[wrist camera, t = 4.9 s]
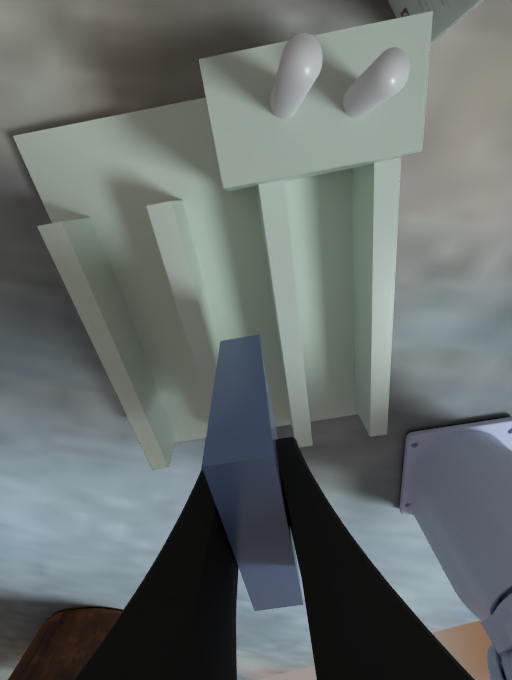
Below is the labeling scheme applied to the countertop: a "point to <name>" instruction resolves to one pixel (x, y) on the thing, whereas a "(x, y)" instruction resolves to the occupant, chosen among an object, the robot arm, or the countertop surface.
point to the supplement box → (435, 12)
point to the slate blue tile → (250, 475)
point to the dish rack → (244, 228)
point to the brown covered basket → (65, 644)
